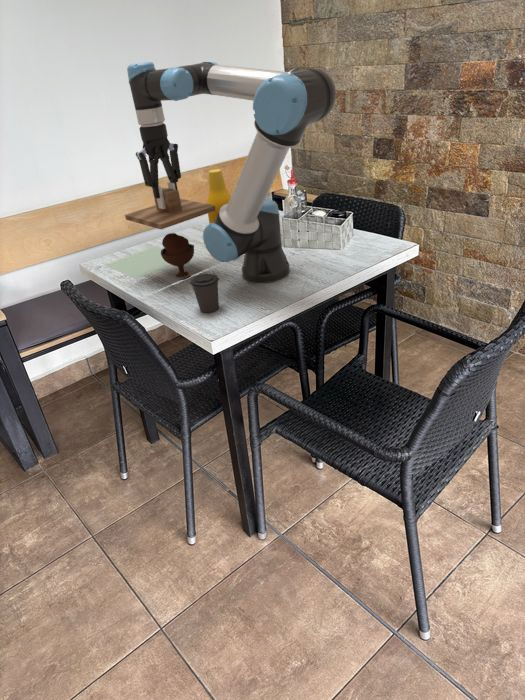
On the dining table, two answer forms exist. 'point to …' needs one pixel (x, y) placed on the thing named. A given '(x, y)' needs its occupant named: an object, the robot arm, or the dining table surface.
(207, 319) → the dining table surface
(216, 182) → the yellow bottle
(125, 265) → the green mat
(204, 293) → the coffee cup
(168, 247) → the ice cream bowl
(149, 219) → the walnut cover
